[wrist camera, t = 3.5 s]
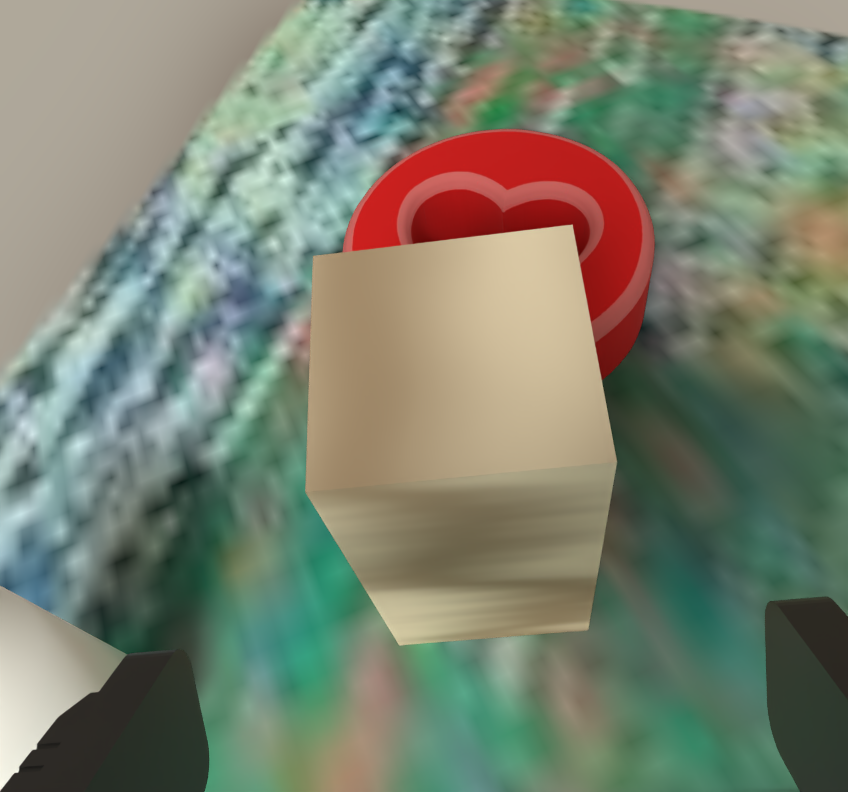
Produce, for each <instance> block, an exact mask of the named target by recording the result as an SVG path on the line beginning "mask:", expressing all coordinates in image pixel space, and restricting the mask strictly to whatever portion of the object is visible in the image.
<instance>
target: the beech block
mask: <svg viewBox="0 0 848 792" xmlns="http://www.w3.org/2000/svg"><path fill="white" fill-rule="evenodd" d="M616 465H617V459H616V454H615V448H614V443H613V438H612V432H611V427H610V422H609V416H608V411H607V406H606V400H605V395H604V390H603V384H602V379H601V374H600V368H599V363H598V358H597V352H596V347H595V342H594V337H593V331H592V326H591V321H590V315H589V310H588V305H587V299H586V294H585V289H584V283H583V278H582V273H581V267H580V262H579V257H578V251H577V246H576V241H575V235H574V230H573V225H565V226H557V227H549V228H541V229H533V230H524V231H516V232H508V233H500V234H491V235H483V236H475V237H467V238H458V239H450V240H442V241H434V242H425V243H417V244H409V245H401V246H392V247H384V248H376V249H368V250H359V251H351V252H343V253H335V254H326V255H318V256H313V274H312V305H311V336H310V367H309V398H308V429H307V460H306V491H305V492H306V494H307V495H308V497H309V499H310V500H311V502H312V504H313V505H314V507H315V508H316V510H317V512H318V513H319V515H320V517H321V518H322V520H323V522H324V523H325V525H326V526H327V528H328V530H329V531H330V533H331V535H332V536H333V538H334V539H335V541H336V543H337V544H338V546H339V548H340V549H341V551H342V553H343V554H344V556H345V557H346V559H347V561H348V562H349V564H350V566H351V567H352V569H353V571H354V572H355V574H356V575H357V577H358V579H359V580H360V582H361V584H362V585H363V587H364V588H365V590H366V592H367V593H368V595H369V597H370V598H371V600H372V602H373V603H374V605H375V606H376V608H377V610H378V611H379V613H380V615H381V616H382V618H383V620H384V621H385V623H386V624H387V626H388V628H389V629H390V631H391V633H392V634H393V636H394V637H395V639H396V641H397V642H398V644H399V645H409V644H421V643H434V642H446V641H459V640H472V639H484V638H497V637H509V636H522V635H535V634H547V633H560V632H572V631H585V630H588V628H589V623H590V617H591V611H592V605H593V599H594V593H595V588H596V582H597V576H598V570H599V564H600V559H601V553H602V547H603V541H604V535H605V529H606V524H607V518H608V512H609V506H610V500H611V495H612V489H613V483H614V477H615V471H616Z"/></svg>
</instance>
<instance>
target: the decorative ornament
mask: <svg viewBox="0 0 848 792" xmlns="http://www.w3.org/2000/svg"><path fill="white" fill-rule="evenodd" d="M565 225H573V230H574V235H575V241H576V246H577V251H578V257H579V262H580V267H581V273H582V278H583V283H584V289H585V294H586V299H587V305H588V310H589V315H590V321H591V326H592V331H593V337H594V342H595V347H596V352H597V358H598V363H599V368H600V374H601V379H602V380H603V379H604V378H605V377H606V376H608V375H609V374H610V373H611V372H612V371H613V370H614V369H615V368H616V367H617V366H618V365H619V364H620V363H621V361H622V360H623V359H624V358H625V357H626V355H627V354H628V353H629V351H630V350H631V348H632V346H633V345H634V343H635V340H636V338H637V336H638V334H639V331H640V328H641V325H642V321H643V317H644V312H645V306H646V300H647V294H648V289H649V283H650V277H651V271H652V265H653V259H654V246H655V242H654V230H653V224H652V220H651V217H650V214H649V211H648V209H647V207H646V204H645V202H644V200H643V198H642V196H641V195H640V193H639V191H638V189H637V188H636V187H635V185H634V184H633V183H632V181H631V180H630V179H629V178H628V176H627V175H626V174H625V173H624V172H623V171H622V170H621V169H620V168H619V167H618V166H617V165H616V164H614V163H613V162H612V161H611V160H609V159H608V158H607V157H605V156H604V155H602V154H601V153H599V152H597V151H595V150H594V149H592V148H590V147H588V146H585V145H583V144H581V143H578V142H576V141H573V140H570V139H567V138H564V137H560V136H557V135H552V134H548V133H542V132H536V131H529V130H520V129H496V130H484V131H477V132H471V133H466V134H462V135H457V136H453V137H450V138H447V139H444V140H441V141H438V142H436V143H433V144H431V145H428V146H426V147H424V148H422V149H420V150H418V151H416V152H414V153H412V154H411V155H409V156H407V157H406V158H404V159H403V160H401V161H400V162H398V163H397V164H395V165H394V166H393V167H392V168H390V169H389V170H388V171H387V172H385V173H384V174H383V175H382V176H381V177H380V178H379V179H378V180H377V181H376V182H375V183H374V184H373V185H372V187H371V188H370V189H369V190H368V192H367V193H366V194H365V196H364V197H363V199H362V200H361V201H360V203H359V204H358V206H357V208H356V209H355V211H354V213H353V215H352V217H351V220H350V222H349V225H348V228H347V231H346V235H345V239H344V246H343V252H351V251H359V250H368V249H376V248H384V247H392V246H401V245H409V244H417V243H425V242H434V241H442V240H450V239H458V238H467V237H475V236H483V235H491V234H500V233H508V232H516V231H524V230H533V229H541V228H549V227H557V226H565Z"/></svg>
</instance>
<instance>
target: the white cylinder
mask: <svg viewBox="0 0 848 792" xmlns="http://www.w3.org/2000/svg"><path fill="white" fill-rule="evenodd" d="M126 655H127V654H125V653H124V652H122V651H120V650H118V649H116V648H114V647H112V646H111V645H109V644H107V643H105V642H103V641H101V640H100V639H98V638H96V637H94V636H92V635H90V634H88V633H87V632H85V631H83V630H81V629H79V628H77V627H76V626H74V625H72V624H70V623H68V622H66V621H64V620H63V619H61V618H59V617H57V616H55V615H53V614H52V613H50V612H48V611H46V610H44V609H42V608H40V607H39V606H37V605H35V604H33V603H31V602H29V601H28V600H26V599H24V598H22V597H20V596H18V595H17V594H15V593H13V592H11V591H9V590H7V589H5V588H4V587H1V586H0V790H1V789H2V788H3V787H4V785H5V784H6V783H7V782H8V780H9V779H10V778H11V776H12V775H13V774H14V773H18V772H19V766H20V765H21V764H22V762H23V761H24V760H25V759H26V757H27V756H28V755H29V753H30V752H31V751H32V750H36V748H37V743H38V742H39V741H40V739H41V738H42V737H43V736H44V734H45V733H46V732H47V730H48V729H49V728H50V727H51V725H52V724H53V723H54V721H55V720H56V719H57V718H58V717H59V716H60V715H61V714H63V713H64V712H65V711H67V710H68V709H69V708H71V707H72V706H73V705H75V704H76V703H77V702H79V701H80V700H81V699H83V698H84V697H85V696H87V695H88V694H89V693H93V692H99V691H100V689H101V688H102V687H103V685H104V684H105V683H106V681H107V680H108V679H109V677H110V676H111V675H112V673H113V672H114V670H115V669H116V668H117V666H118V665H119V664H120V662H121V661H122V660H123V658H124V657H125V656H126Z"/></svg>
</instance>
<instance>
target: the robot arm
mask: <svg viewBox="0 0 848 792" xmlns="http://www.w3.org/2000/svg"><path fill="white" fill-rule="evenodd" d="M765 642H766V678H767V707H768V715H769V721H770V726H771V730H772V734H773V737H774V741H775V743H776V746H777V749H778V751H779V753H780V755H781V757H782V759H783V761H784V763H785V765H786V767H787V768H788V770H789V772H790V774H791V776H792V777H793V779H794V781H795V783H796V785H797V787H798V788H799V790H800V792H848V616H847V615H846V614H845V613H844V612H843V611H842V610H841V608H840V607H839V606H838V605H837V604H836V603H835V602H834V601H833V600H832V599H831V598H829V597H814V598H802V599H790V600H779V601H770V602H769V603H768V604H767V606H766V611H765ZM208 772H209V748H208V741H207V737H206V732H205V727H204V723H203V718H202V713H201V709H200V704H199V699H198V695H197V690H196V685H195V681H194V676H193V672H192V667H191V663H190V660H189V657H188V656H187V654H186V653H185V651H183V650H181V649H177V650H165V651H153V652H141V653H131V654H128V655H126V656H125V657H124V658H123V660H122V661H121V662H120V664H119V665H118V666H117V668H116V669H115V670H114V672H113V673H112V675H111V676H110V677H109V679H108V680H107V681H106V683H105V684H104V685H103V687H102V688H101V689H100V691H99V692H93V693H89V694H88V695H87V696H85V697H84V698H83V699H81V700H80V701H79V702H77V703H76V704H75V705H73V706H72V707H71V708H69V709H68V710H67V711H65V712H64V713H63V714H61V715H60V716H59V717H58V718H57V719H56V720H55V721H54V723H53V724H52V725H51V727H50V728H49V729H48V730H47V732H46V733H45V734H44V736H43V737H42V738H41V739H40V741H39V742H38V743H37V748H36V750H32V751H31V752H30V753H29V755H28V756H27V757H26V759H25V760H24V761H23V762H22V764H21V765H20V766H19V772H18V773H14V774H13V775H12V776H11V778H10V779H9V780H8V782H7V783H6V784H5V785H4V787H3V788H2V789H1V790H0V792H204V791H205V788H206V784H207V779H208Z"/></svg>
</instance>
